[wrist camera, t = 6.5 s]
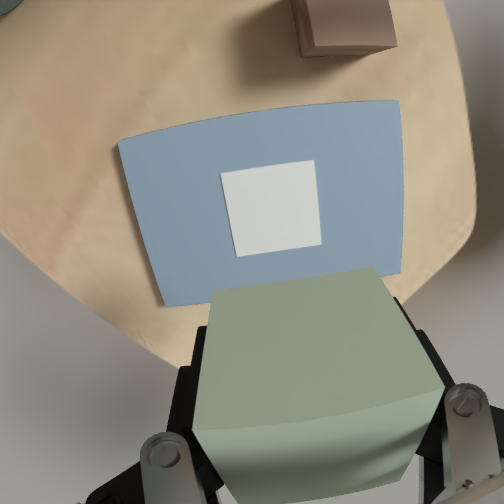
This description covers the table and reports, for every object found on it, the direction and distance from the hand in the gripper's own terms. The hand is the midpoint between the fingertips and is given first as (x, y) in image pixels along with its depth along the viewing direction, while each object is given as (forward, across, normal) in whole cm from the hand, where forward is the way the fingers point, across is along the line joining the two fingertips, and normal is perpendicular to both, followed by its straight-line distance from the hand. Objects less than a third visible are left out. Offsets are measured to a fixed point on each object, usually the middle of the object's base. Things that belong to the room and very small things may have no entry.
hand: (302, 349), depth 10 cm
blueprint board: (+15, 0, 0) cm, 15 cm away
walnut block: (+15, -6, -13) cm, 21 cm away
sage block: (+1, 0, 0) cm, 1 cm away
